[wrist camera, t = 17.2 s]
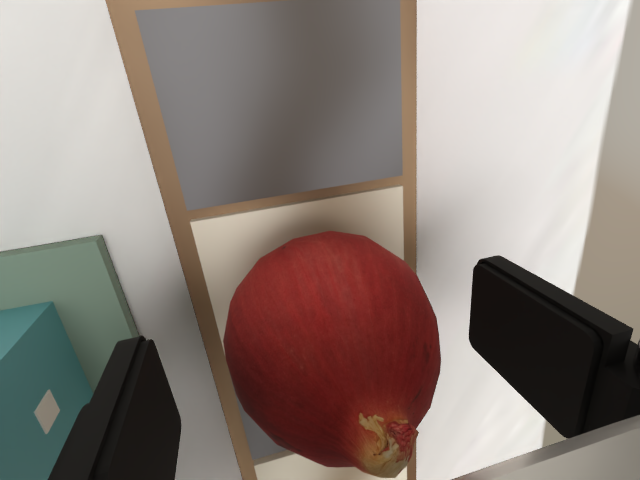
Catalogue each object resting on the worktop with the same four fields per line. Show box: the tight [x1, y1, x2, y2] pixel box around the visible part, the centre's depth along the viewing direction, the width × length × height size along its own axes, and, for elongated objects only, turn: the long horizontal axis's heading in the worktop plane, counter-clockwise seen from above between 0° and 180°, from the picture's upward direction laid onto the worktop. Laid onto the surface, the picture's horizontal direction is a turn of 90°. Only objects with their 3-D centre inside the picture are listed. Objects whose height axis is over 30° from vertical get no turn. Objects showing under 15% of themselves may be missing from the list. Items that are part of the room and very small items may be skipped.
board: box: [106, 0, 417, 480], centre depth 15 cm, size 9×25×1 cm, turn 6°
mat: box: [0, 235, 139, 394], centre depth 13 cm, size 9×9×1 cm
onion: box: [223, 231, 441, 478], centre depth 10 cm, size 6×6×8 cm
